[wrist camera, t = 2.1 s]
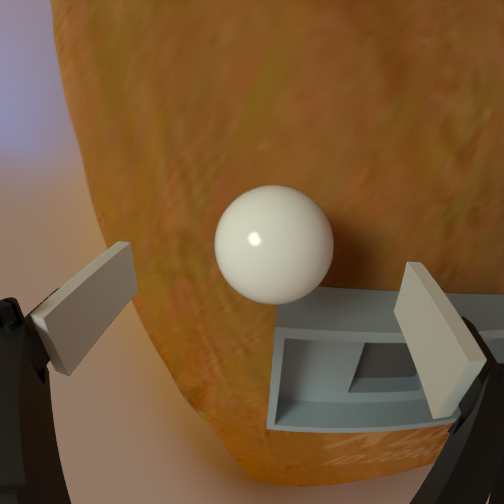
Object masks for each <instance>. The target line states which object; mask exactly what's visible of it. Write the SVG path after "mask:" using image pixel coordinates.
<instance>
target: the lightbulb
mask: <svg viewBox="0 0 504 504" xmlns="http://www.w3.org/2000/svg"><path fill="white" fill-rule="evenodd" d="M214 248H215V256H216V260H217V264H218V267H219V269H220V271H221V273H222V275H223V277H224V278H225V280H226V281H227V282H228V284H229V285H230V286H231V287H232V288H233V289H234V290H235V291H237V292H238V293H239V294H241V295H242V296H244V297H246V298H247V299H250V300H252V301H255V302H258V303H262V304H268V305H280V304H287V303H291V302H294V301H296V300H299V299H301V298H303V297H305V296H306V295H308V294H309V293H311V292H312V291H313V290H314V289H315V288H316V287H317V286H318V285H319V284H320V283H321V282H322V280H323V279H324V277H325V276H326V274H327V272H328V270H329V268H330V265H331V262H332V258H333V252H334V238H333V232H332V228H331V225H330V222H329V220H328V218H327V216H326V214H325V213H324V211H323V210H322V208H321V207H320V206H319V205H318V204H317V203H316V202H315V201H314V200H313V199H312V198H311V197H309V196H308V195H306V194H305V193H303V192H301V191H299V190H297V189H294V188H291V187H287V186H281V185H267V186H261V187H257V188H254V189H252V190H249V191H247V192H245V193H244V194H242V195H240V196H239V197H238V198H236V199H235V200H234V201H233V202H232V203H231V204H230V205H229V206H228V207H227V209H226V210H225V212H224V213H223V215H222V217H221V218H220V221H219V223H218V226H217V229H216V233H215V242H214Z"/></svg>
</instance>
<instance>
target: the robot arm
mask: <svg viewBox="0 0 504 504" xmlns="http://www.w3.org/2000/svg"><path fill="white" fill-rule="evenodd" d="M137 292H138V286H137V280H136V275H135V269H134V263H133V257H132V250H131V243H130V242H117V243H115V244H114V245H113V246H111V247H110V248H109V249H107V250H106V251H105V252H104V253H102V254H101V255H100V256H98V257H97V258H96V259H95V260H94V261H92V262H91V263H90V264H88V265H87V266H86V267H85V268H83V269H82V270H81V271H80V272H78V273H77V274H76V275H75V276H74V277H72V278H71V279H70V280H69V281H68V282H66V283H65V284H64V285H63V286H62V287H60V288H58V289H56V290H55V291H54V292H53V293H52V294H51V295H49V297H47V298H46V299H45V300H44V301H43V302H41V303H40V304H39V305H38V306H37V307H36V308H34V309H33V310H32V311H31V312H30V313H29V314H28V315H27V316H26V317H25V318H24V316H23V314H22V311H21V309H20V306H19V304H18V301H17V300H16V299H15V298H12V297H10V298H5V299H2V300H0V504H71V501H70V498H69V494H68V490H67V487H66V483H65V479H64V475H63V471H62V466H61V462H60V457H59V452H58V446H57V441H56V434H55V428H54V421H53V413H52V405H51V394H50V380H49V371H48V368H47V367H46V365H47V363H48V362H49V361H51V363H52V365H53V366H54V368H55V370H56V371H57V372H59V373H62V374H65V375H67V376H70V375H71V373H72V372H73V371H74V369H75V368H76V367H77V365H78V364H79V363H80V362H81V361H82V359H83V358H84V357H85V355H86V354H87V353H88V352H89V350H90V349H91V348H92V347H93V345H94V344H95V343H96V341H97V340H98V339H99V338H100V336H101V335H102V334H103V333H104V331H105V330H106V329H107V328H108V327H109V325H110V324H111V323H112V321H113V320H114V319H115V318H116V317H117V316H118V314H119V313H120V312H121V311H122V310H123V308H124V307H125V306H126V305H127V304H128V302H129V301H130V300H131V299H132V298H133V297H134V295H135V294H136V293H137ZM394 314H395V316H396V318H397V321H398V323H399V326H400V328H401V330H402V333H403V335H404V338H405V340H406V343H407V345H408V348H409V351H410V353H411V356H412V359H413V361H414V364H415V367H416V369H417V372H418V375H419V378H420V381H421V384H422V386H423V389H424V392H425V395H426V398H427V402H428V405H429V408H430V411H431V414H432V418H433V419H437V418H444V417H450V416H451V415H452V413H453V412H454V411H455V409H456V408H457V406H459V409H460V411H461V414H460V416H459V417H458V418H457V420H456V421H455V422H454V424H453V425H452V426H451V427H450V429H449V430H448V431H447V432H449V433H450V432H451V433H450V435H449V437H448V439H447V441H446V443H445V445H444V447H443V449H442V451H441V453H440V455H439V456H438V458H437V460H436V462H435V464H434V466H433V467H432V469H431V471H430V472H429V474H428V476H427V477H426V479H425V481H424V482H423V484H422V485H421V487H420V489H419V490H418V492H417V493H416V495H415V496H414V498H413V499H412V501H411V502H410V504H486V502H487V499H488V497H489V495H490V498H489V503H488V504H504V364H503V363H497V361H496V359H495V358H494V356H493V354H492V353H491V351H490V349H489V348H488V346H487V345H486V343H485V341H483V338H482V337H481V335H480V334H479V332H478V331H477V329H476V328H475V326H474V325H473V324H472V323H471V322H470V321H469V320H468V319H467V318H465V317H460V316H459V314H458V313H457V311H456V310H455V308H454V307H453V305H452V304H451V302H450V301H449V299H448V298H447V297H446V295H445V294H444V292H443V291H442V290H441V288H440V287H439V285H438V284H437V283H436V281H435V280H434V279H433V277H432V276H431V275H430V273H429V272H428V271H427V269H426V268H425V267H424V265H423V264H422V263H421V262H407V264H406V268H405V272H404V276H403V280H402V284H401V288H400V291H399V295H398V299H397V302H396V306H395V309H394ZM451 430H452V431H451ZM490 492H491V493H490Z"/></svg>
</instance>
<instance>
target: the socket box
mask: <svg viewBox="0 0 504 504" xmlns="http://www.w3.org/2000/svg"><path fill="white" fill-rule="evenodd" d="M444 294H445V295H446V297H447V298H448V299H449V301H450V302H451V304H452V305H453V307H454V308H455V310H456V311H457V313H458V314H459V316H460V317H465V318H467V319H468V320H469V321H470V322H471V323H472V324H473V325H474V326H475V328H476V329H477V331H478V332H479V334H480V335H481V337H482V338H483V341H485V343H486V345H487V346H488V348H489V349H490V351H491V353H492V354H493V356H494V358H495V359H496V361H497V363H503V364H504V295H500V294H456V293H444ZM398 295H399V291H384V290H366V289H349V288H333V287H318V286H317V287H316V288H315V289H314V290H313V291H312V292H311V293H309V294H308V295H306V296H305V297H303V298H301V299H299V300H296V301H294V302H291V303H287V304H280V305H278V310H277V317H276V324H275V336H274V349H273V361H272V373H271V385H270V396H269V407H268V418H267V428H266V429H271V430H283V431H297V432H320V433H359V432H381V431H395V430H406V429H415V428H424V427H431V426H438V425H444V424H450V423H454V422H455V421H456V420H457V418H458V417H459V416H460V414H461V411H460V409H459V406H457V408H456V409H455V411H454V412H453V413H452V415H451V416H450V417H444V418H437V419H433V418H432V414H431V411H430V408H429V405H428V402H427V398H426V395H425V392H424V389H423V386H422V384H421V381H420V378H419V375H418V372H417V369H416V367H415V364H414V361H413V359H412V356H411V353H410V351H409V348H408V345H407V343H406V340H405V338H404V335H403V333H402V330H401V328H400V326H399V323H398V321H397V318H396V316H395V314H394V309H395V306H396V302H397V299H398Z"/></svg>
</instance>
